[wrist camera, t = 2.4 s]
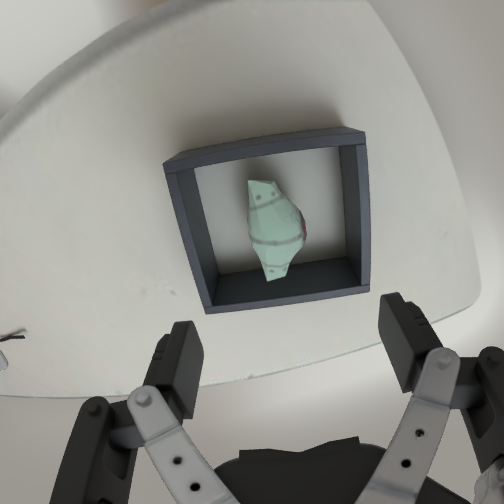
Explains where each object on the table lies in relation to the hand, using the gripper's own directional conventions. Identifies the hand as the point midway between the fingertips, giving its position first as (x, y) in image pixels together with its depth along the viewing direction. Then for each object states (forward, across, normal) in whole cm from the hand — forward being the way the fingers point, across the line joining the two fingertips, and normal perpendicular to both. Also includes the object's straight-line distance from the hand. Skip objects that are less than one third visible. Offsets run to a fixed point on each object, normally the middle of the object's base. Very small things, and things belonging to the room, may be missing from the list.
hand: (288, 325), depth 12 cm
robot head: (+15, 0, 0) cm, 15 cm away
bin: (+15, 0, 0) cm, 15 cm away
